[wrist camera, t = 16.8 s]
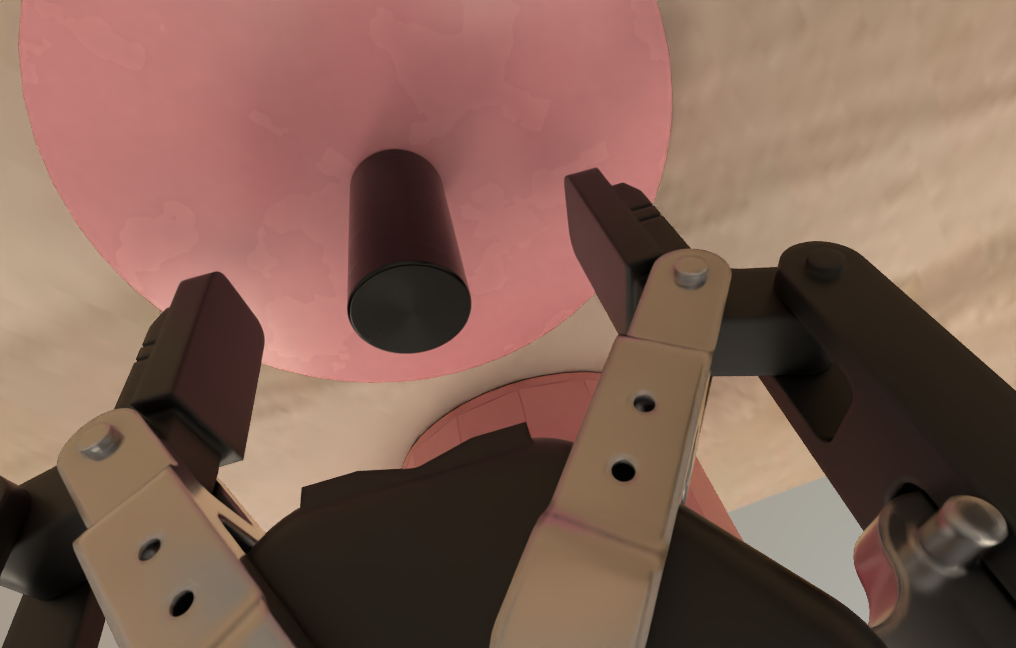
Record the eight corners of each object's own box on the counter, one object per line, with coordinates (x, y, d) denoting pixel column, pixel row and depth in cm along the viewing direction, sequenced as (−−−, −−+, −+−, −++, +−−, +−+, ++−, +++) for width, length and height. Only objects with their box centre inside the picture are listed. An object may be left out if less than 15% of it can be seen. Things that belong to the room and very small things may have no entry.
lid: (-196, -254, 7) (-896, -381, 3) (727, -222, 10) (997, -271, 6) (212, 390, 18) (168, 554, 14) (612, 329, 20) (677, 453, 16)
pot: (376, 402, 20) (382, 598, 15) (700, 349, 23) (805, 503, 17) (417, 549, 30) (430, 698, 25) (640, 501, 33) (695, 629, 27)
